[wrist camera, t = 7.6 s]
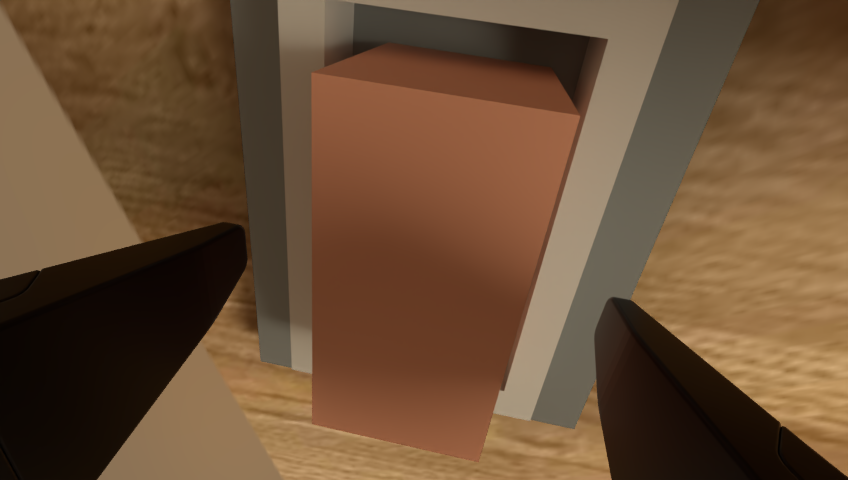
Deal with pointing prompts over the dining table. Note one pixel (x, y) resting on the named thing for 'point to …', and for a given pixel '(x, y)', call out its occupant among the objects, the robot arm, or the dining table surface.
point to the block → (427, 236)
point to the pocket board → (583, 176)
